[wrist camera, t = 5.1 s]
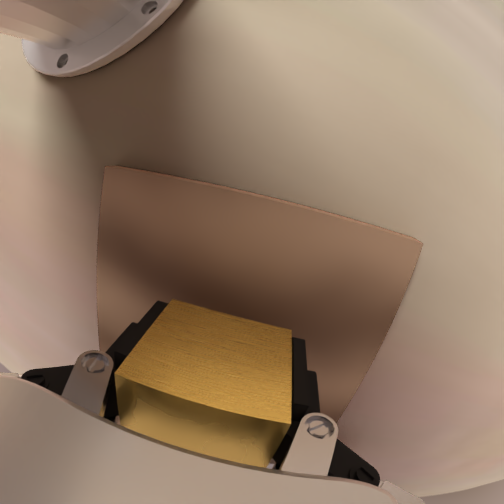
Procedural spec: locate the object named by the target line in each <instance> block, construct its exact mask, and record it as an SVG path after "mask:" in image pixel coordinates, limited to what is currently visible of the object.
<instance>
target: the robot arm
mask: <svg viewBox="0 0 504 504" xmlns="http://www.w3.org/2000/svg"><path fill="white" fill-rule="evenodd" d="M182 1H183V0H0V33H3V34H7V35H11V36H14V37H18V38H21V39H22V47H23V54H24V56H25V58H26V60H27V62H28V64H29V65H30V66H31V67H32V68H33V69H34V70H36V71H38V72H41V73H43V74H47V75H51V76H56V77H73V76H76V75H80V74H84V73H88V72H90V71H93V70H95V69H97V68H100V67H102V66H104V65H106V64H108V63H110V62H111V61H113V60H115V59H116V58H118V57H120V56H122V55H124V54H125V53H126V52H128V51H129V50H130V49H132V48H133V47H135V46H136V45H137V44H139V43H140V42H142V41H143V40H144V39H145V38H147V37H148V36H149V35H150V34H151V33H152V32H153V31H155V30H156V29H157V28H158V27H159V26H160V25H162V24H163V23H164V22H165V20H166V19H167V18H168V17H169V16H170V15H171V14H172V13H173V12H174V11H175V10H176V9H177V8H178V7H179V5H180V4H181V3H182ZM167 305H168V303H165V302H162V301H157V302H156V303H155V304H154V305H153V306H152V307H151V308H150V310H149V311H148V312H147V313H146V314H145V315H144V316H143V318H142V319H141V320H140V321H139V322H138V323H135V322H132V323H131V324H130V325H129V326H128V327H127V328H126V329H125V330H124V332H123V333H122V334H121V335H120V336H119V337H118V338H117V339H116V341H115V342H114V343H113V344H112V345H111V346H110V347H109V349H108V350H107V351H106V352H102V351H98V350H90V351H86V352H84V353H82V354H81V355H80V356H79V357H78V359H77V361H76V363H75V365H70V366H61V367H52V368H42V369H33V370H29V371H27V372H25V373H24V374H23V375H22V376H19V375H18V373H0V504H425V502H424V501H423V500H421V499H420V498H419V497H417V496H415V495H413V494H411V493H409V492H407V491H405V490H403V489H402V488H400V487H398V486H396V485H394V484H393V483H391V482H389V481H387V480H385V481H384V482H383V481H381V480H380V476H379V474H378V472H377V470H376V469H375V468H374V467H373V466H371V465H370V464H369V463H367V462H366V461H365V460H363V459H362V458H361V457H359V456H358V455H357V454H356V453H354V452H353V451H352V450H351V449H349V448H348V447H347V446H346V445H344V444H343V443H342V442H341V441H339V440H338V439H337V436H338V426H337V424H336V423H335V421H334V420H333V419H332V418H330V417H329V416H327V415H325V414H321V413H320V403H319V392H318V382H317V374H316V372H315V371H310V370H307V358H306V344H305V340H304V339H300V338H295V337H292V399H291V425H290V427H289V429H288V431H287V433H286V434H285V436H284V438H283V440H282V442H281V443H280V445H279V447H278V449H277V450H276V452H275V454H274V456H273V457H272V459H273V460H274V461H275V462H276V463H275V465H274V467H273V469H269V468H263V467H258V466H252V465H247V464H242V463H238V462H233V461H229V460H224V459H220V458H216V457H212V456H209V455H205V454H201V453H198V452H194V451H191V450H187V449H184V448H181V447H178V446H175V445H172V444H169V443H166V442H163V441H160V440H157V439H154V438H152V437H149V436H146V435H144V434H141V433H138V432H136V431H133V430H131V429H129V428H126V427H124V426H121V425H119V424H117V422H118V416H119V411H118V403H117V395H116V385H115V374H114V373H115V372H116V370H117V369H118V368H119V367H120V365H121V364H122V363H123V361H124V360H125V359H126V357H127V356H128V355H129V353H130V352H131V351H132V350H133V348H134V347H135V346H136V344H137V343H138V342H139V341H140V339H141V338H142V337H143V335H144V334H145V333H146V332H147V330H148V329H149V328H150V327H151V325H152V324H153V323H154V321H155V320H156V319H157V318H158V316H159V315H160V314H161V313H162V311H163V310H164V309H165V308H166V306H167Z"/></svg>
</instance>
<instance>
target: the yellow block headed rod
mask: <svg viewBox="0 0 504 504" xmlns="http://www.w3.org/2000/svg"><path fill="white" fill-rule="evenodd" d="M114 374H115V385H116V395H117V403H118V411H119V418H120V425H121V426H124V427H126V428H129V429H131V430H133V431H136V432H138V433H141V434H144V435H146V436H149V437H152V438H154V439H157V440H160V441H163V442H166V443H169V444H172V445H175V446H178V447H181V448H184V449H187V450H191V451H194V452H198V453H201V454H205V455H209V456H212V457H216V458H220V459H224V460H229V461H233V462H238V463H242V464H247V465H252V466H258V467H263V468H266V467H267V466H268V464H269V462H270V461H271V459H272V457H273V456H274V454H275V452H276V450H277V449H278V447H279V445H280V443H281V442H282V440H283V438H284V436H285V434H286V433H287V431H288V429H289V427H290V425H291V399H292V330H290V329H286V328H281V327H277V326H273V325H269V324H264V323H260V322H256V321H252V320H248V319H244V318H240V317H237V316H233V315H229V314H225V313H221V312H218V311H214V310H210V309H207V308H203V307H200V306H196V305H193V304H189V303H186V302H182V301H179V300H175V299H172V300H171V301H170V303H169V304H168V305H167V306H166V308H165V309H164V310H163V311H162V313H161V314H160V315H159V316H158V318H157V319H156V320H155V321H154V323H153V324H152V325H151V327H150V328H149V329H148V330H147V332H146V333H145V334H144V335H143V337H142V338H141V339H140V341H139V342H138V343H137V344H136V346H135V347H134V348H133V350H132V351H131V352H130V353H129V355H128V356H127V357H126V359H125V360H124V361H123V363H122V364H121V365H120V367H119V368H118V369H117V370H116V372H115V373H114Z"/></svg>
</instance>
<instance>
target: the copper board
mask: <svg viewBox="0 0 504 504" xmlns="http://www.w3.org/2000/svg"><path fill="white" fill-rule="evenodd" d="M422 246H423V243H421V242H420V241H418V240H417V239H415V238H413V237H410V236H407V235H403V234H400V233H397V232H394V231H391V230H388V229H384V228H381V227H378V226H375V225H371V224H368V223H365V222H361V221H358V220H354V219H351V218H347V217H344V216H340V215H337V214H333V213H330V212H326V211H322V210H319V209H315V208H311V207H308V206H304V205H300V204H296V203H292V202H288V201H284V200H280V199H276V198H272V197H268V196H264V195H260V194H256V193H252V192H247V191H243V190H239V189H234V188H230V187H225V186H221V185H216V184H211V183H207V182H202V181H197V180H192V179H187V178H182V177H177V176H172V175H167V174H161V173H156V172H151V171H145V170H139V169H133V168H128V167H122V166H105V170H104V177H103V185H102V194H101V203H100V214H99V228H98V245H97V317H98V334H99V347H100V351H102V352H106V351H107V350H108V349H109V347H110V346H111V345H112V344H113V343H114V342H115V341H116V339H117V338H118V337H119V336H120V335H121V334H122V333H123V332H124V330H125V329H126V328H127V327H128V326H129V325H130V324H131V323H132V322H135V323H138V322H139V321H140V320H141V319H142V318H143V316H144V315H145V314H146V313H147V312H148V311H149V310H150V308H151V307H152V306H153V305H154V304H155V303H156V302H157V301H162V302H165V303H168V304H169V303H170V301H171V300H172V299H175V300H179V301H182V302H186V303H189V304H193V305H196V306H200V307H203V308H207V309H210V310H214V311H218V312H221V313H225V314H229V315H233V316H237V317H240V318H244V319H248V320H252V321H256V322H260V323H264V324H269V325H273V326H277V327H281V328H286V329H290V330H292V337H295V338H300V339H304V340H305V344H306V358H307V370H310V371H315V372H316V374H317V382H318V392H319V403H320V413H321V414H325V415H327V416H329V417H330V418H332V419H333V420H334V421H335V423H337V421H338V420H339V418H340V417H341V415H342V413H343V412H344V410H345V409H346V407H347V405H348V404H349V402H350V401H351V399H352V397H353V396H354V394H355V392H356V390H357V389H358V387H359V385H360V384H361V382H362V380H363V378H364V376H365V375H366V373H367V371H368V369H369V367H370V366H371V364H372V362H373V360H374V358H375V356H376V354H377V352H378V350H379V348H380V346H381V344H382V342H383V340H384V338H385V336H386V334H387V332H388V330H389V328H390V326H391V323H392V321H393V319H394V317H395V315H396V312H397V310H398V308H399V306H400V303H401V301H402V299H403V296H404V294H405V291H406V289H407V286H408V284H409V281H410V279H411V276H412V274H413V271H414V268H415V266H416V263H417V260H418V257H419V255H420V252H421V249H422ZM117 424H119V425H120V418H119V416H118V422H117ZM275 463H276V462H275ZM274 465H275V464H274ZM273 467H274V466H273ZM273 467H272V469H273Z"/></svg>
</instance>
